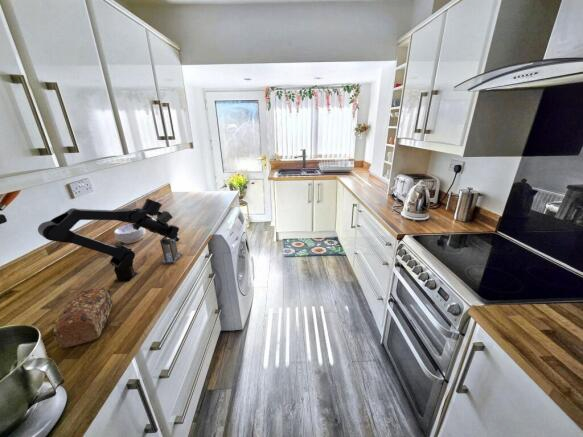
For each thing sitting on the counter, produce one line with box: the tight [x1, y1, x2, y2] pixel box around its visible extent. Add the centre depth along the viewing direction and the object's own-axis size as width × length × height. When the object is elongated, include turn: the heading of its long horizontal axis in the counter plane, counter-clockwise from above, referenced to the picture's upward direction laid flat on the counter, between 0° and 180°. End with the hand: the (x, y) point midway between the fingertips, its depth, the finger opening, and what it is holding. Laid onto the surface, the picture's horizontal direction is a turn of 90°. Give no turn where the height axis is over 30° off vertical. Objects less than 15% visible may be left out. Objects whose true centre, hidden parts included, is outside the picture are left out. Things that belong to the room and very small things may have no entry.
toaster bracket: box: [159, 236, 183, 265], centre depth 118 cm, size 9×6×12 cm, turn 179°
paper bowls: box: [113, 223, 147, 244], centre depth 141 cm, size 15×15×8 cm
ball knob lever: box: [164, 235, 180, 245], centre depth 121 cm, size 11×3×3 cm, turn 178°
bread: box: [52, 286, 114, 348], centre depth 80 cm, size 19×11×10 cm, turn 22°
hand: (177, 235), depth 124 cm, fingers closed
